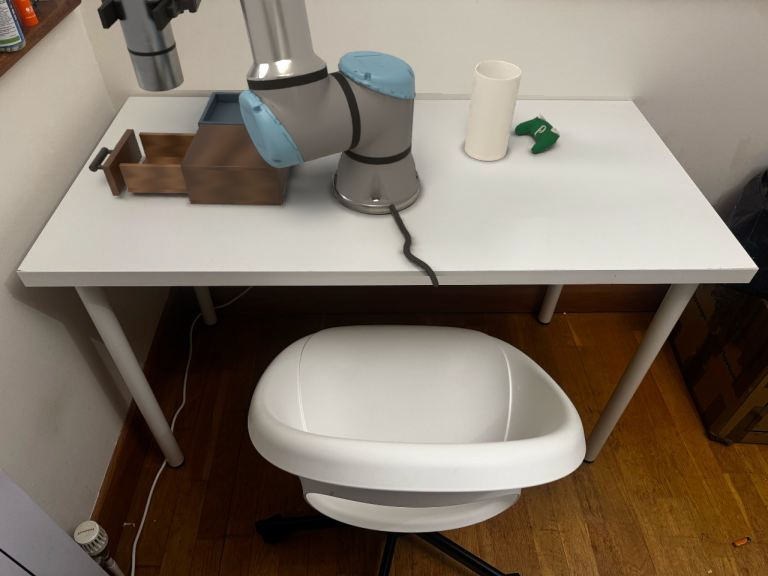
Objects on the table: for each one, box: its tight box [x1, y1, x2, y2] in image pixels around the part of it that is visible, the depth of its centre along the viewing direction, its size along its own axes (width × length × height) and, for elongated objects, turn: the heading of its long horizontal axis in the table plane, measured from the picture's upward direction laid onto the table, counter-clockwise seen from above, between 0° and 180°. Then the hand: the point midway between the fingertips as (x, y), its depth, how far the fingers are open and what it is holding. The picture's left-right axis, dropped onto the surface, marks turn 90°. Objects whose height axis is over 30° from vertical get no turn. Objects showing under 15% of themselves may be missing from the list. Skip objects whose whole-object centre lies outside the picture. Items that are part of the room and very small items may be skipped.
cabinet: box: [180, 124, 291, 206], centre depth 99 cm, size 16×14×8 cm
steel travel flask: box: [113, 0, 185, 93], centre depth 87 cm, size 7×7×17 cm
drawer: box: [88, 128, 196, 197], centre depth 99 cm, size 19×12×6 cm, turn 90°
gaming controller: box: [514, 113, 560, 154], centre depth 112 cm, size 9×4×6 cm
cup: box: [464, 60, 522, 162], centre depth 105 cm, size 8×8×16 cm
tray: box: [197, 91, 245, 128], centre depth 117 cm, size 14×14×2 cm
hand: (130, 20), depth 82 cm, fingers closed on steel travel flask, 7 cm apart
